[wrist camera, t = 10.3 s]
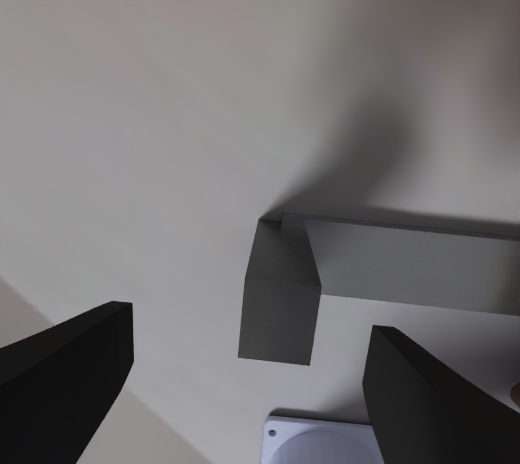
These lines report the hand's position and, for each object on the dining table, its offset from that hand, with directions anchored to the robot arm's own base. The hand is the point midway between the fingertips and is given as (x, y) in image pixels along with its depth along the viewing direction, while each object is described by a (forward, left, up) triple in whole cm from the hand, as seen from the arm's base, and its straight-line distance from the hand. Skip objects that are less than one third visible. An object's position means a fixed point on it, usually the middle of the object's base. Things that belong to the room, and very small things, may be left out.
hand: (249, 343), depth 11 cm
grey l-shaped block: (0, -9, -9) cm, 13 cm away
